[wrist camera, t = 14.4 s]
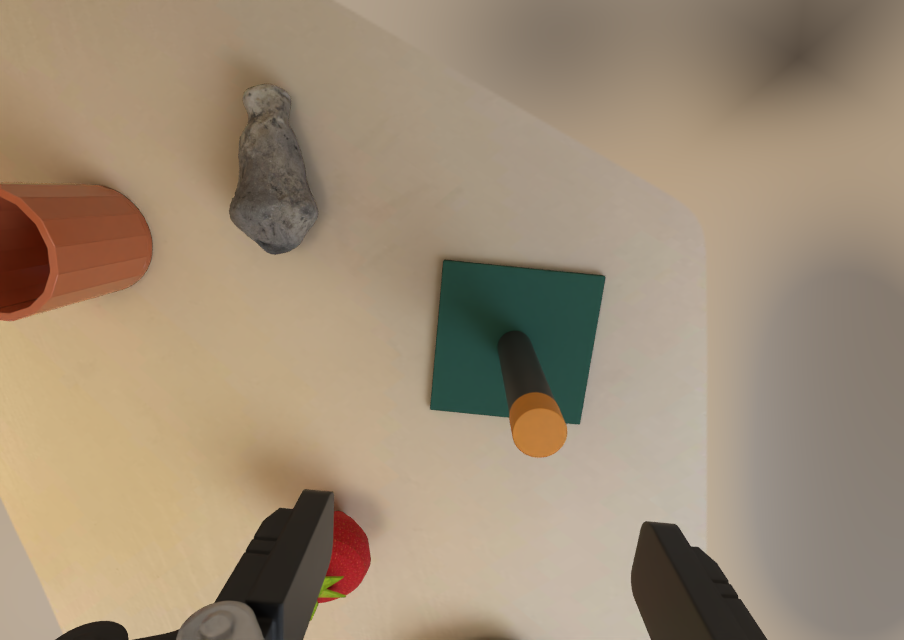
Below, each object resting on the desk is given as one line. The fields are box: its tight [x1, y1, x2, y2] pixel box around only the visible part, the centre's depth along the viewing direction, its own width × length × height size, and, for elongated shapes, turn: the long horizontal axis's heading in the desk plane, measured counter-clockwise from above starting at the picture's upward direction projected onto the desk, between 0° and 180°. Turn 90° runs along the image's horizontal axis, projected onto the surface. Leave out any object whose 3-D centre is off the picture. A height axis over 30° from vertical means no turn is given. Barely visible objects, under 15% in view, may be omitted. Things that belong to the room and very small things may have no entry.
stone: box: [229, 84, 318, 255], centre depth 33 cm, size 10×5×8 cm
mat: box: [430, 260, 605, 424], centre depth 38 cm, size 12×12×1 cm
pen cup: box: [0, 182, 152, 321], centre depth 33 cm, size 8×8×9 cm
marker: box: [498, 331, 567, 457], centre depth 31 cm, size 3×3×14 cm
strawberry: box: [310, 511, 371, 621], centre depth 38 cm, size 6×8×10 cm
